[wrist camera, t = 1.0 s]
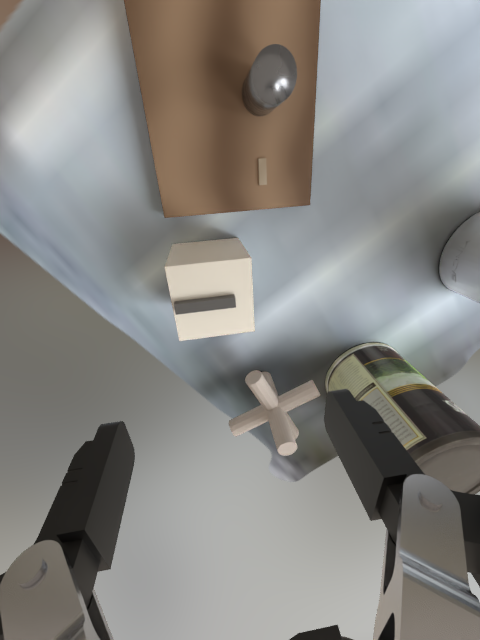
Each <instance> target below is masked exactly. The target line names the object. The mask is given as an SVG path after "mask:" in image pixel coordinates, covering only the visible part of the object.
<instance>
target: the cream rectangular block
mask: <svg viewBox="0 0 480 640" xmlns="http://www.w3.org/2000/svg"><path fill="white" fill-rule="evenodd" d="M165 272H166V277H167V282H168V287H169V292H170V297H171V301H172V306H173V311H174V316H175V321H176V326H177V331H178V336H179V341H183V340H191V339H199V338H207V337H214V336H222V335H230V334H237V333H245V332H253V331H255V326H254V305H253V284H252V263H251V257H250V255H249V254H248V252H247V251H246V249H245V248H244V246H243V244H242V243H241V241H240V240H239V238H229V239H218V240H208V241H198V242H188V243H177V244H172V246H171V249H170V252H169V255H168V258H167V261H166V264H165Z"/></svg>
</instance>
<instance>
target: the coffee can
mask: <svg viewBox="0 0 480 640" xmlns="http://www.w3.org/2000/svg"><path fill="white" fill-rule="evenodd" d="M325 387H326V391H327V393H328V391H335V390H341V389H348V390H349V391H350V392H351V393H352V395H353V396H354V398H355V399H356V401H361V400H364V401H365V402H366V403H368V404H369V405H371V406H372V407H373V408H375V409H376V410H377V412H378V413H379V414H380V416H381V417H382V418H383V420H384V422H385V423H386V424H387V425H388V426H389V428H390V429H391V432H392V433H394V434H395V436H396V437H397V438H398V440H399V441H400V442H401V444H402V445H403V446H404V448H405V449H406V450H407V452H408V453H409V454H410V456H411V457H412V458H413V460H414V461H415V462H416V464H417V465H418V466H419V468H420V469H421V470H422V471H423V473H424V474H425V475H427V476H430V477H432V478H435V479H436V480H438V481H440V482H441V483H443V484H444V485H445V486H446V487H447V488H449V490H452V491H457V492H462V493H468V494H476V493H478V492H479V491H480V426H479V425H478V424H477V423H476V422H475V421H473V420H472V419H471V418H470V417H469V416H468V415H467V414H465V413H464V412H463V411H462V410H461V409H460V408H459V407H458V406H456V405H455V404H454V403H453V402H452V401H451V400H450V399H449V398H448V397H446V396H445V395H444V394H443V393H442V392H440V390H438V389H437V388H436V387H435V386H434V385H433V384H432V383H431V382H429V381H428V380H427V379H426V378H425V377H424V376H423V375H422V374H420V373H419V372H418V371H417V370H416V369H415V368H414V367H413V366H411V365H410V364H409V363H408V362H407V361H406V360H405V359H404V358H403V357H401V356H400V355H399V354H398V353H397V352H396V350H395V349H393V348H392V347H390V346H389V345H386V344H383V343H365V344H361V345H358V346H356V347H353V348H351V349H349V350H348V351H346V352H345V353H343V354H342V355H341V356H339V357H338V358H337V359H336V360H335V362H334V363H333V364H332V365H331V367H330V369H329V371H328V372H327V375H326V379H325Z"/></svg>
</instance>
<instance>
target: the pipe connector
mask: <svg viewBox="0 0 480 640" xmlns="http://www.w3.org/2000/svg"><path fill="white" fill-rule="evenodd" d="M245 382H246V383H247V385H248V386H249V388H250V389H251V390H252V392H253V393H254V395H255V396H256V398H257V399H258V400H259V402H260V403H261V405H260V406H258V407H256V408H254V409H252V410H250V411H248V412H246V413H244V414H242V415H239V416H237V417H235V418H233V419H231V420H230V421H229V426H230V429H231V431H232V433H233V435H234V436H238V435H240V434H242V433H244V432H246V431H248V430H251V429H253V428H255V427H257V426H259V425H261V424H263V423H265V422H267V421H269V423H270V427H271V430H272V433H273V437H274V440H275V443H276V447H277V450H278V453H279V454H280V455H290V454H292V453H294V452H295V451H296V450H297V444H296V442H295V439H296V438H297V437H298V435H299V431H298V429H297V427H296V426H295V424H294V423H293V421H292V420H291V418H290V416H289V415H288V413H287V412H288V411H290V410H292V409H294V408H296V407H298V406H300V405H302V404H304V403H306V402H308V401H310V400H312V399H315V398H317V397H319V396H321V395H320V393H319V391H318V389H317V387H316V385H315V384H314V382H313V380H310V381H308V382H306V383H304V384H302V385H300V386H298V387H296V388H294V389H292V390H290V391H288V392H286V393H284V394H282V395H280V396H278V393H277V391H276V388H275V385H274V382H273V380H272V377H271V374H270V373H269V372H260V371H258V370H255V371H251V372H250V373H249V374H248V375H247V376H246V378H245Z"/></svg>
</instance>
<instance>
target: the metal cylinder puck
mask: <svg viewBox="0 0 480 640" xmlns="http://www.w3.org/2000/svg"><path fill="white" fill-rule="evenodd" d="M296 80H297V66H296V62H295V59H294V57H293V55H292V54H291V52H290V51H289V50H288V49H287V48H286V47H284V46H282V45H279V44H271V45H268V46H266V47H265V48H263V49H262V50H261V51H260V52H259V54H258V55H257V57H256V59H255V61H254V63H253V65H252V67H251V69H250V70H249V72H248V74H247V76H246V78H245V80H244V83H243V86H242V99H243V103H244V105H245V107H246V109H247V110H248V111H249V112H250V113H251V114H253V115H255V116H265V115H267V114H269V113H270V112H272V111H273V110H274V109H275V108H276V107H278V106H279V105H280V104H281V103H282V102H284V101H285V100H286V99H287V98H288V97H289V96H290V95H291V93H292V92H293V90H294V87H295V84H296Z"/></svg>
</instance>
